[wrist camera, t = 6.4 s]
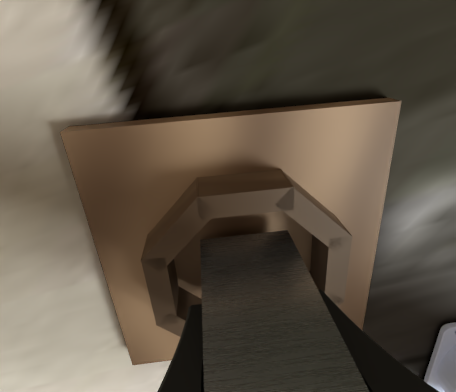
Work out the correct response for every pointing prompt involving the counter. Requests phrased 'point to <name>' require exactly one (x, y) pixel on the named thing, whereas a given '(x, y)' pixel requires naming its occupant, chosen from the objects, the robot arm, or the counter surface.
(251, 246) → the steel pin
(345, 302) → the holder board
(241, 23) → the counter surface
